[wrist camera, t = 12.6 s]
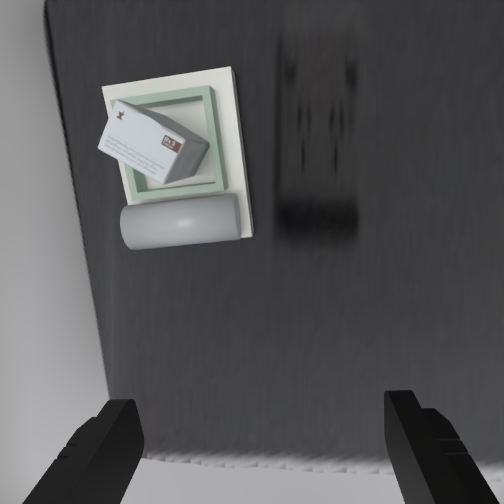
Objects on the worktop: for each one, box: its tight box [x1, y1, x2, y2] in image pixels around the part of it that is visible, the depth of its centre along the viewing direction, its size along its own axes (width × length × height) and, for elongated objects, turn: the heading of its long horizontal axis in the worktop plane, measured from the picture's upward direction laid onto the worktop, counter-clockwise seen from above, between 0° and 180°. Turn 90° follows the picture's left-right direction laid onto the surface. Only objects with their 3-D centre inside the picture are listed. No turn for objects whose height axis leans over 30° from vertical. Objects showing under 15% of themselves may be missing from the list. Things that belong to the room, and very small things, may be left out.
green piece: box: [110, 85, 228, 201], centre depth 37 cm, size 10×10×3 cm
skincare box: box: [98, 99, 210, 185], centre depth 32 cm, size 6×4×12 cm
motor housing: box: [102, 67, 254, 250], centre depth 38 cm, size 14×18×8 cm
